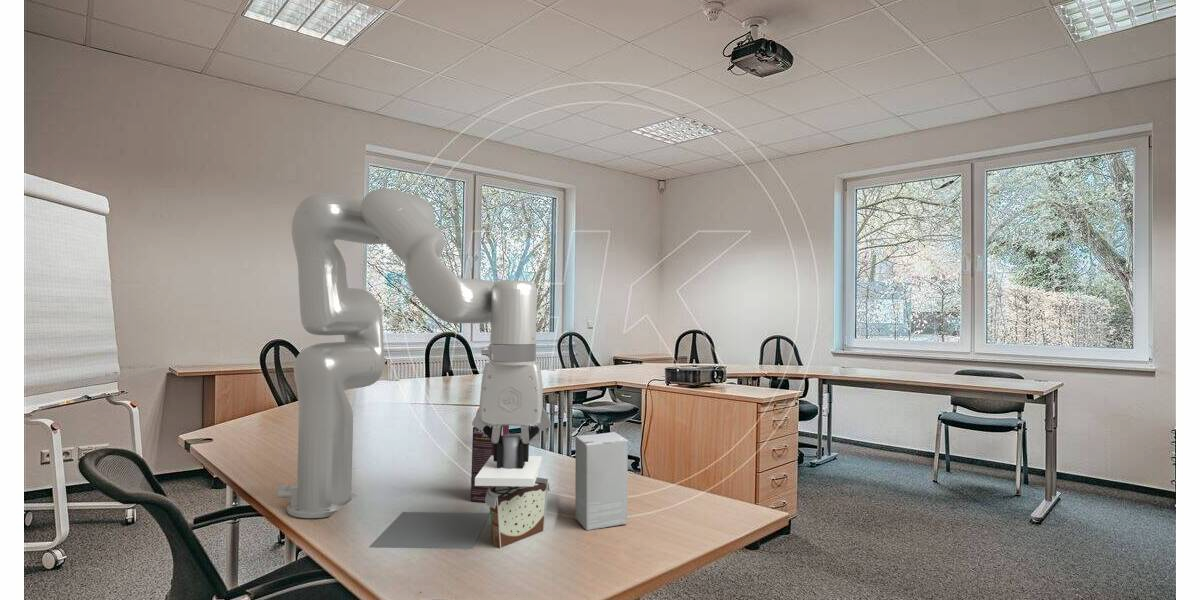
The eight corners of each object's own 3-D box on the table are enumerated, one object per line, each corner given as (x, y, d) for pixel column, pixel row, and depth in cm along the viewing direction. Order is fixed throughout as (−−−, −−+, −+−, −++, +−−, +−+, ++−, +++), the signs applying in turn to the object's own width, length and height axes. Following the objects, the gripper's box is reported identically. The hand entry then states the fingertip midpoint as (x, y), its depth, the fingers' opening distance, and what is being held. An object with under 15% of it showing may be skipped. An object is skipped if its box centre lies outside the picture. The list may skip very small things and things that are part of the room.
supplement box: (492, 511, 113) (494, 428, 113) (469, 509, 114) (470, 426, 114) (508, 497, 121) (510, 420, 121) (486, 496, 122) (488, 419, 122)
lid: (474, 485, 90) (475, 445, 91) (491, 462, 104) (491, 427, 105) (533, 486, 91) (534, 445, 91) (542, 463, 105) (542, 428, 105)
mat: (368, 556, 91) (368, 547, 91) (402, 520, 107) (402, 511, 107) (471, 558, 91) (472, 548, 91) (490, 521, 107) (490, 513, 107)
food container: (524, 528, 104) (525, 471, 104) (549, 537, 100) (550, 478, 100) (468, 550, 95) (469, 487, 95) (493, 560, 91) (494, 495, 91)
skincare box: (614, 514, 112) (615, 430, 113) (629, 527, 106) (630, 438, 106) (572, 519, 109) (573, 433, 109) (585, 532, 103) (586, 441, 103)
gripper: (458, 355, 94) (456, 471, 94) (560, 357, 94) (558, 473, 94) (468, 352, 102) (466, 459, 101) (563, 354, 102) (561, 461, 101)
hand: (511, 465), depth 98 cm, fingers closed on lid, 2 cm apart
